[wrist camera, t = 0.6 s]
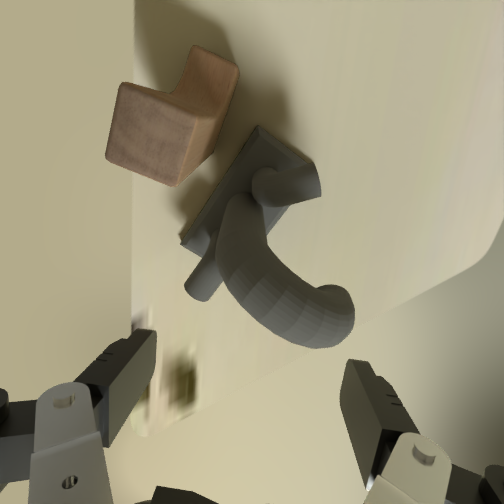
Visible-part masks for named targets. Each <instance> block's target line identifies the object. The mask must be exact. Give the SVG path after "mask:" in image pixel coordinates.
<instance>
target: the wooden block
mask: <svg viewBox="0 0 504 504" xmlns="http://www.w3.org/2000/svg"><path fill="white" fill-rule="evenodd" d="M238 79H239V69H238V67H237V65H236V64H234V63H232V62H230V61H228V60H226V59H224V58H222V57H220V56H218V55H216V54H214V53H212V52H210V51H208V50H206V49H203V48H201V47H199V46H197V45H193V46H192V48H191V50H190V53H189V56H188V59H187V62H186V66H185V69H184V72H183V75H182V78H181V80H180V81H179V83H178V85H177V87H176V89H175V91H173V92H172V93H170V94H167V93H164V92H160V91H157V90H154V89H150V88H147V87H143V86H140V85H136V84H133V83H129V82H122V83H121V85H120V86H119V89H118V94H117V98H116V103H115V108H114V113H113V119H112V123H111V128H110V133H109V138H108V143H107V148H106V153H105V157H106V159H107V160H108V161H109V162H111V163H113V164H116V165H118V166H121V167H123V168H126V169H128V170H131V171H133V172H136V173H138V174H141V175H143V176H146V177H148V178H151V179H153V180H155V181H158V182H160V183H163V184H165V185H168V186H170V187H176V186H177V185H179V184H180V183H181V182H182V181H183V180H184V179H185V178H186V177H187V176H188V175H189V174H191V173H192V172H193V171H194V170H195V169H196V168H197V167H198V166H199V165H200V164H201V163H202V162H203V161H205V160H206V159H207V158H208V157H209V156H210V155H211V154H212V153H213V151H214V148H215V145H216V142H217V139H218V136H219V133H220V130H221V128H222V125H223V122H224V119H225V116H226V113H227V110H228V107H229V105H230V102H231V99H232V96H233V93H234V90H235V87H236V84H237V81H238Z"/></svg>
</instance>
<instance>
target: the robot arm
mask: <svg viewBox="0 0 504 504" xmlns="http://www.w3.org/2000/svg"><path fill="white" fill-rule="evenodd" d="M156 343H157V333H156V331H154V330H147V329H140V328H137V329H136V330H135V331H134V332H133V333H132V334H131V335H130V336H129V338H128V339H123V338H122V339H120V340H118V341H116V342H114V343H112V344H110V345H109V346H108V347H107V348H106V349H105V350H104V351H103V353H102V354H100V355H99V356H98V357H97V358H96V360H95V361H93V362H92V363H91V364H90V365H89V366H88V367H87V368H86V369H85V371H83V372H82V373H81V374H80V375H79V376H78V377H77V378H76V379H75V381H73V382H68V383H63V384H59V385H57V386H54V387H52V388H50V389H48V390H47V391H45V392H44V393H43V394H42V395H41V396H40V397H39V398H38V400H30V401H18V402H9V399H8V393H7V391H5V390H4V389H1V388H0V492H1V491H2V490H3V489H4V487H5V486H6V485H7V484H8V483H9V482H16V481H22V480H28V479H30V481H29V497H28V504H113V499H112V494H111V489H110V483H109V477H108V472H107V467H106V461H105V456H104V450H103V447H106V448H109V447H110V445H111V444H112V442H113V440H114V439H115V437H116V435H117V434H118V432H119V430H120V429H121V427H122V426H123V424H124V422H125V421H126V419H127V417H128V416H129V414H130V413H131V411H132V409H133V408H134V406H135V404H136V403H137V401H138V400H139V398H140V396H141V395H142V393H143V391H144V390H145V388H146V387H147V385H148V383H149V382H150V380H151V378H152V376H153V373H154V369H155V363H156ZM340 406H341V411H342V414H343V417H344V420H345V424H346V427H347V430H348V433H349V437H350V440H351V443H352V447H353V450H354V453H355V456H356V460H357V463H358V466H359V469H360V473H361V476H362V479H363V482H364V485H365V489H366V490H370V491H369V493H368V495H367V497H366V499H365V501H364V503H363V504H504V467H503V466H499V465H489V466H487V467H486V468H485V470H484V473H483V476H481V475H478V474H476V473H473V472H471V471H468V470H466V469H463V468H461V467H458V466H456V465H454V464H452V463H451V461H450V459H449V457H448V455H447V454H446V453H445V451H444V450H443V449H442V448H441V447H440V446H439V445H437V444H436V443H435V442H433V441H432V440H430V439H429V438H427V437H424V436H422V435H421V434H420V433H419V431H418V429H417V427H416V426H415V424H414V422H413V421H412V419H411V417H410V416H409V414H408V412H407V411H406V409H405V407H403V404H402V402H401V400H400V399H399V398H398V396H397V394H396V392H395V391H394V389H393V387H392V386H391V385H390V384H389V383H388V382H387V381H386V380H385V379H384V378H383V377H381V376H376V375H375V373H374V371H373V369H372V368H371V365H370V364H369V362H367V361H361V360H354V359H349V360H348V361H347V363H346V368H345V372H344V377H343V381H342V386H341V390H340ZM135 504H218V503H216V502H214V501H212V500H210V499H208V498H205V497H203V496H201V495H199V494H197V493H195V492H193V491H186V490H180V489H174V488H167V487H161V486H157V487H156V489H155V492H154V494H153V497H152V500H147V501H143V502H139V503H135Z"/></svg>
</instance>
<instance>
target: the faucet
mask: <svg viewBox="0 0 504 504" xmlns="http://www.w3.org/2000/svg"><path fill="white" fill-rule="evenodd" d="M317 197H321V186H320V181H319V176H318V173H317V169H316V167H315V164H314V163H309V164H308V163H306V162H305V161H304V160H302V159H301V158H300V157H299V156H297V155H296V154H295V153H293V152H292V151H291V150H289V149H288V148H287V147H286V146H284V145H283V144H282V143H280V142H279V141H278V140H277V139H275V138H274V137H273V136H271V135H270V134H269V133H267V132H266V131H265V130H264V129H262V128H261V127H260V126H257V127H256V129H255V130H254V132H253V133H252V135H251V136H250V138H249V139H248V141H247V142H246V144H245V145H244V147H243V148H242V150H241V151H240V153H239V155H238V156H237V158H236V159H235V161H234V162H233V164H232V165H231V167H230V168H229V170H228V171H227V173H226V174H225V176H224V177H223V179H222V180H221V182H220V183H219V185H218V187H217V188H216V190H215V191H214V193H213V194H212V196H211V197H210V199H209V200H208V202H207V203H206V205H205V206H204V208H203V209H202V211H201V212H200V214H199V215H198V217H197V219H196V220H195V222H194V223H193V225H192V226H191V228H190V229H189V231H188V232H187V234H186V235H185V237H184V238H183V240H182V241H181V243H180V245H182V246H183V247H185V248H187V249H188V250H190V251H192V252H193V253H195V254H197V255H198V256H200V257H201V258H202V259H201V261H200V262H199V264H198V265H197V266H196V268H195V269H194V271H193V272H192V274H191V275H190V276H189V278H188V279H187V281H186V282H185V284H184V287H185V290H186V292H187V293H188V294H189V295H190V296H191V297H193V298H194V299H196V300H198V301H202V302H205V301H208V300H209V299H210V297H211V296H212V295H213V293H214V292H215V291H216V290H217V288H218V287H219V286H220V284H221V283H222V282H223V281H224V283H225V285H226V286H227V288H228V290H229V291H230V293H231V294H232V295H233V296H234V298H235V299H236V300H237V301H238V303H239V304H240V305H241V306H242V307H243V308H244V309H245V310H246V311H247V312H248V313H249V314H250V315H251V316H252V317H253V318H254V319H256V320H257V321H258V322H259V323H260V324H262V325H263V326H265V327H266V328H267V329H269V330H270V331H272V332H273V333H274V334H276V335H278V336H280V337H282V338H284V339H286V340H287V341H289V342H291V343H294V344H298V345H301V346H305V347H308V348H315V349H317V348H328V347H333V346H335V345H337V344H339V343H340V342H342V341H343V340H344V339H345V338H346V337H347V336H348V335H349V334H350V333H351V331H352V329H353V326H354V320H355V308H354V305H353V302H352V299H351V297H350V294H349V293H348V292H347V290H345V289H344V288H342V287H340V286H337V285H323V286H320V287H318V288H315V287H313V286H311V285H310V284H308V283H307V282H305V281H304V280H302V279H301V278H300V277H298V276H297V275H296V274H295V273H293V272H292V271H291V270H290V269H289V268H288V267H287V266H285V265H284V264H283V263H282V262H281V261H280V260H279V259H278V257H277V256H276V255H275V254H274V253H273V252H272V250H271V249H270V248H269V246H268V245H267V237H266V236H267V234H268V233H269V232H270V230H271V229H272V228H273V227H274V225H275V224H276V223H277V221H278V220H279V219H280V218H281V216H282V215H283V214H284V212H285V211H286V210H287V209H288V207H289V206H290V205H292V204H295V203H299V202H303V201H306V200H310V199H313V198H317Z"/></svg>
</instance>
